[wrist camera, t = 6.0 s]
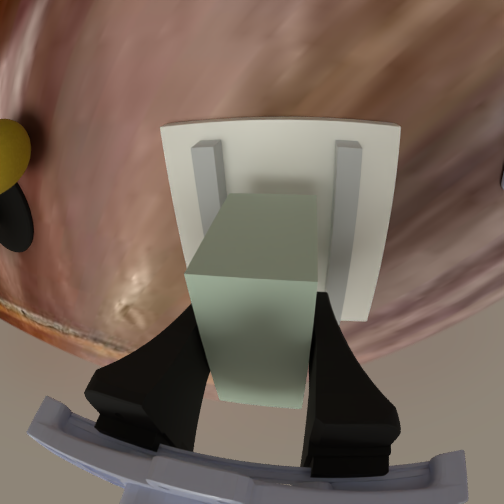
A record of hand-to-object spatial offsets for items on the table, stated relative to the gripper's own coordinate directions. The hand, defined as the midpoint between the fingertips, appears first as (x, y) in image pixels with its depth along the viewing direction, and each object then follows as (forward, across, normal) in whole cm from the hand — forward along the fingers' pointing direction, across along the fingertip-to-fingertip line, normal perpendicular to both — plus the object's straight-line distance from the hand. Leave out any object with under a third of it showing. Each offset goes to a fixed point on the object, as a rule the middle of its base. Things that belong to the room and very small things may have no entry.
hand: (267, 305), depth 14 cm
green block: (+3, 0, 0) cm, 3 cm away
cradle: (+7, 0, 0) cm, 7 cm away
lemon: (+7, +20, -8) cm, 22 cm away
